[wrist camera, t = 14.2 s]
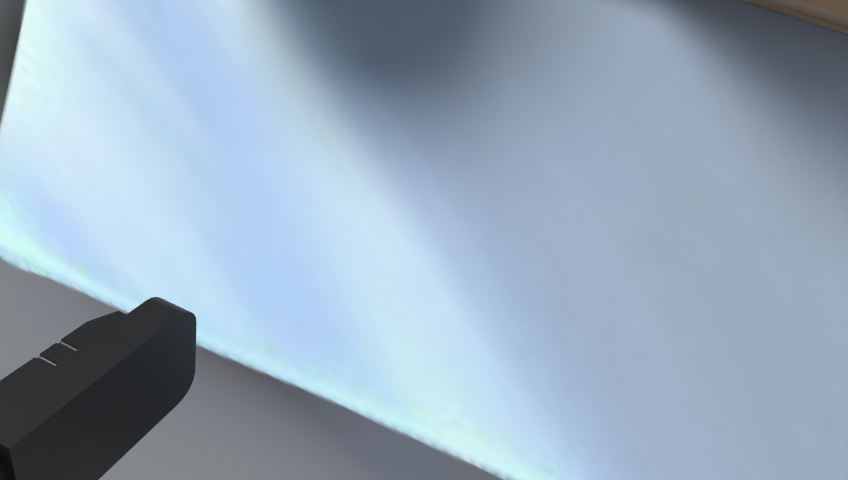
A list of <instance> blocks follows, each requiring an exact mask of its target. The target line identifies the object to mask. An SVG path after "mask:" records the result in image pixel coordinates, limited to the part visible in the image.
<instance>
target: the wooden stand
mask: <svg viewBox="0 0 848 480" xmlns="http://www.w3.org/2000/svg"><path fill="white" fill-rule="evenodd" d="M741 1H744V2H748V3H751V4H754V5H757V6H760V7H763V8H766V9H769V10H773V11H776V12H779V13H782V14H785V15H788V16H791V17H794V18H798V19H801V20H804V21H807V22H810V23H813V24H816V25H819V26H823V27H826V28H829V29H832V30H835V31H838V32H841V33H844V34H848V0H741Z"/></svg>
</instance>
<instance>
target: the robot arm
mask: <svg viewBox="0 0 848 480" xmlns="http://www.w3.org/2000/svg"><path fill="white" fill-rule="evenodd" d="M195 354H196V318H195V315H194V314H193V313H191V312H189V311H187V310H185V309H183V308H181V307H179V306H177V305H174V304H172V303H170V302H168V301H166V300H164V299H162V298H159V297H153V298H150V299H148V300H147V301H145V302H144V303H142V304H141V305H139V306H138V307H137V308H135V309H134V310H132V311H131V312H130V313H128V314H127V315H126V314H124V313H122V312H120V311H117V312H114V313H111V314H108V315H105V316H102V317H99V318H96V319H94V320H91V321H88V322H86V323H85V324H83V325H82V326H80V327H79V328H77V329H76V330H74V331H73V332H71V333H70V334H68V335H67V336H65V337H64V338H62V339H61V342H60V343H59V344H57V343H55V344H54V345H52V346H51V347H49V348H48V349H46V350H45V351H43V352H42V353H40V356H39V357H38V358H33V359H32V360H30V361H29V362H27V363H26V364H24V365H23V366H21V367H20V368H18V369H17V370H15V371H14V372H13V373H11V374H9V375H8V376H7V377H5V378H4V379H2V380H1V381H0V480H98V479H99V478H100V477H102V476H103V475H104V474H105V473H106V472H107V471H108V470H109V469H110V468H111V467H112V466H113V465H114V464H115V463H116V462H117V461H118V460H120V459H121V458H122V457H123V456H124V455H125V454H126V453H127V452H128V451H129V450H130V449H131V448H132V447H133V446H134V445H135V444H136V443H137V442H139V441H140V440H141V439H142V438H143V437H144V436H145V435H146V434H147V433H148V432H149V431H150V430H151V429H152V428H153V427H154V426H155V425H156V424H158V423H159V421H161V420H162V419H163V418H164V417H165V416H166V415H167V414H168V413H169V412H170V411H171V410H172V409H173V408H174V407H175V406H176V405H178V403H179V402H180V401H181V400H182V399H183V398H184V396H185V395H186V393H187V392H188V390H189V388H190V386H191V384H192V382H193V379H194V375H195Z"/></svg>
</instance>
